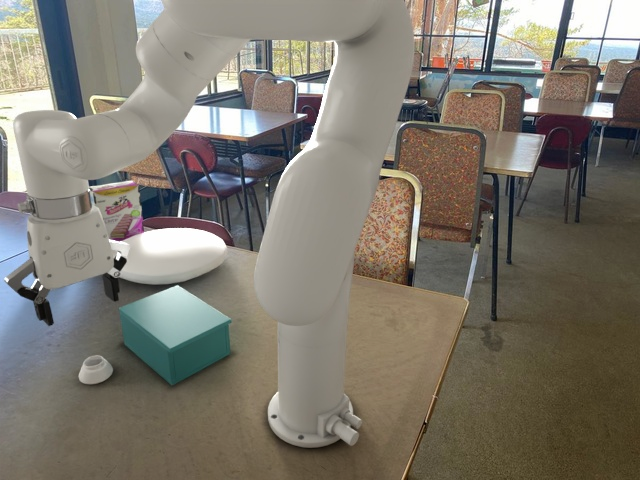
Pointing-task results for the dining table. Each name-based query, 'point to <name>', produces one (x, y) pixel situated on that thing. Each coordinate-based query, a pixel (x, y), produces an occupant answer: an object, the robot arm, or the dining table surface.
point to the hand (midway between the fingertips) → (81, 309)
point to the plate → (171, 255)
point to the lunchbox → (176, 352)
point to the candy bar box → (119, 208)
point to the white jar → (95, 370)
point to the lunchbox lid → (174, 317)
